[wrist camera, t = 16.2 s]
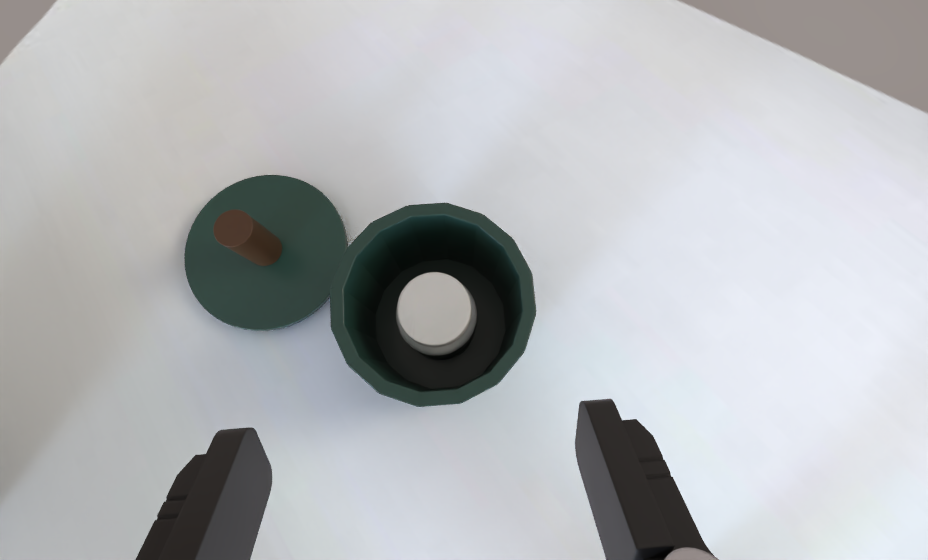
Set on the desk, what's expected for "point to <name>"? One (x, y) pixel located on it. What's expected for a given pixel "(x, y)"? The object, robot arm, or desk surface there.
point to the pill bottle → (436, 315)
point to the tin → (415, 253)
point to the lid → (265, 252)
